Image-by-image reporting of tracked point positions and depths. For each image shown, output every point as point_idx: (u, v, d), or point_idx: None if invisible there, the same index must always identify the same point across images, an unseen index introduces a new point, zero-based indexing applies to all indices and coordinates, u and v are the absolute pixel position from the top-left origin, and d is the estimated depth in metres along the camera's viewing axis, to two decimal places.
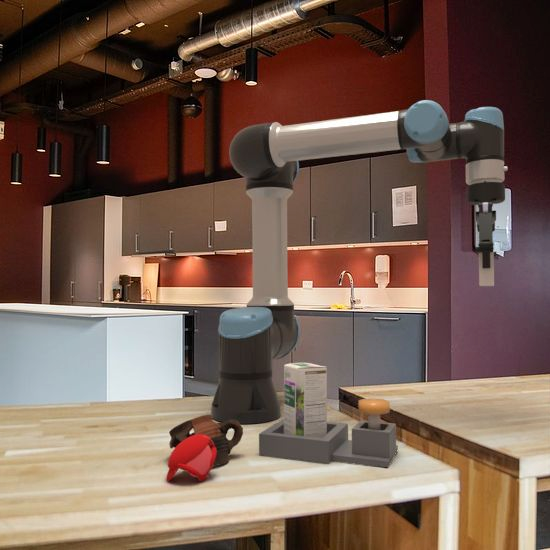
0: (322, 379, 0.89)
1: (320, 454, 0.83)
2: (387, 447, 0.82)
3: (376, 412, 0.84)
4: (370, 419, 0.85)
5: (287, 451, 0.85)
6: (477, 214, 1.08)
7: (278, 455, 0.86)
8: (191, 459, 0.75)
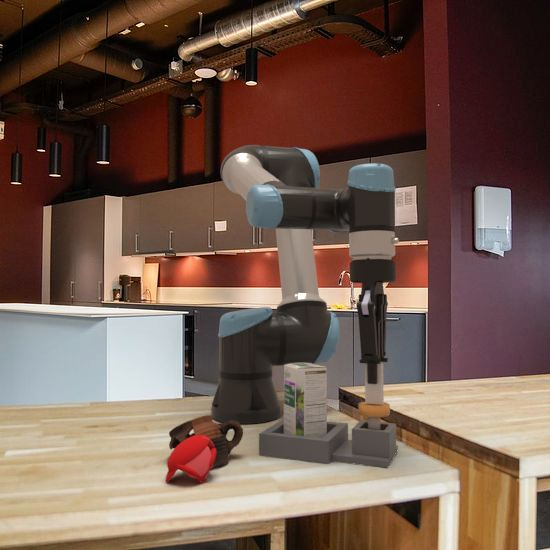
0: (322, 379, 0.89)
1: (320, 454, 0.83)
2: (387, 447, 0.82)
3: (376, 415, 0.84)
4: (370, 422, 0.85)
5: (287, 451, 0.85)
6: (360, 302, 0.85)
7: (278, 455, 0.86)
8: (190, 460, 0.74)
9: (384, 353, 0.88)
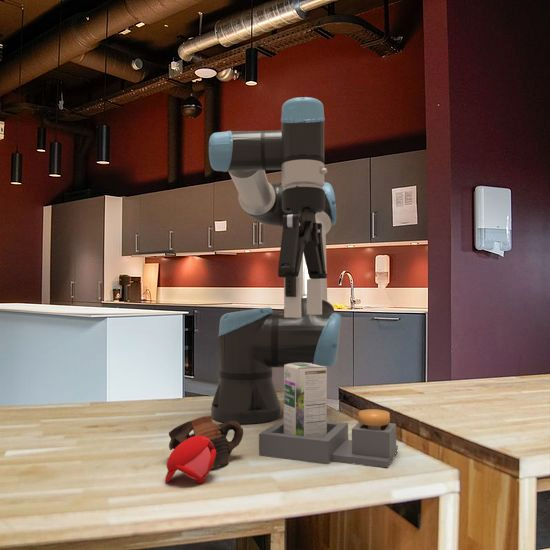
0: (322, 379, 0.89)
1: (320, 454, 0.83)
2: (387, 447, 0.82)
3: (376, 423, 0.84)
4: None
5: (287, 451, 0.85)
6: None
7: (278, 455, 0.86)
8: (189, 460, 0.74)
9: (324, 272, 0.98)
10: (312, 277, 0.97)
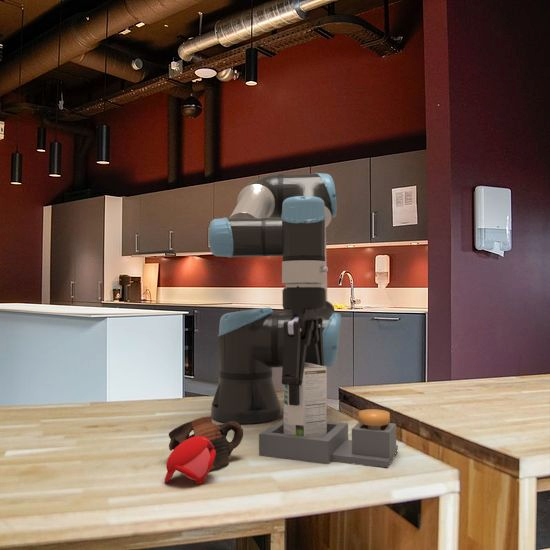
0: (322, 379, 0.89)
1: (320, 454, 0.83)
2: (387, 447, 0.82)
3: (376, 423, 0.84)
4: None
5: (287, 451, 0.85)
6: None
7: (278, 455, 0.86)
8: (189, 461, 0.74)
9: None
10: None
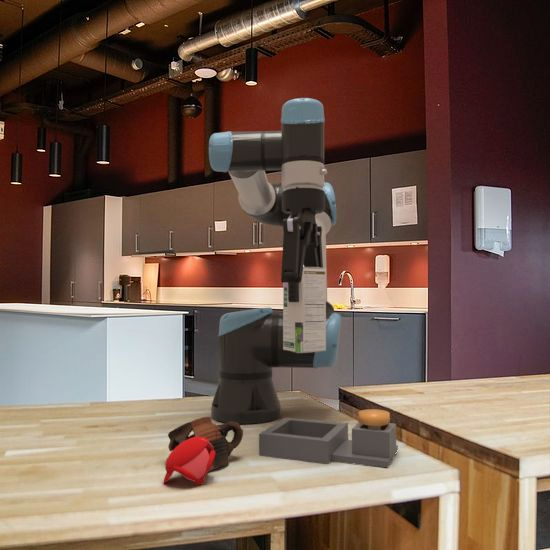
0: (321, 280, 0.90)
1: (320, 454, 0.83)
2: (387, 447, 0.82)
3: (376, 423, 0.84)
4: None
5: (287, 451, 0.85)
6: None
7: (278, 455, 0.86)
8: (187, 461, 0.73)
9: None
10: None
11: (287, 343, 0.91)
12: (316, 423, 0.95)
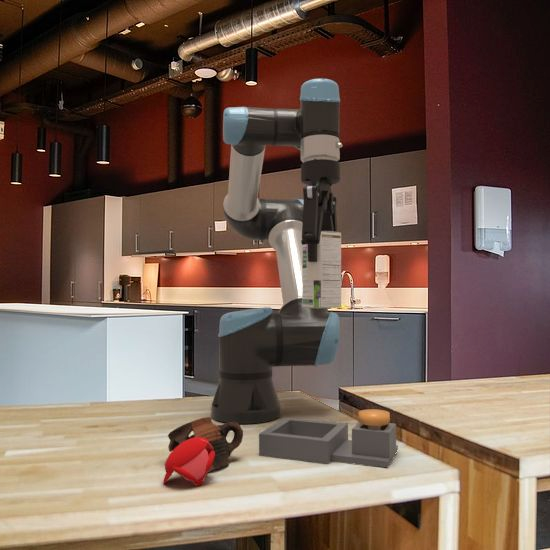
0: (337, 243, 0.99)
1: (320, 454, 0.83)
2: (387, 447, 0.82)
3: (376, 423, 0.84)
4: None
5: (287, 451, 0.85)
6: None
7: (278, 455, 0.86)
8: (186, 462, 0.73)
9: None
10: None
11: (306, 300, 1.00)
12: (316, 423, 0.95)
